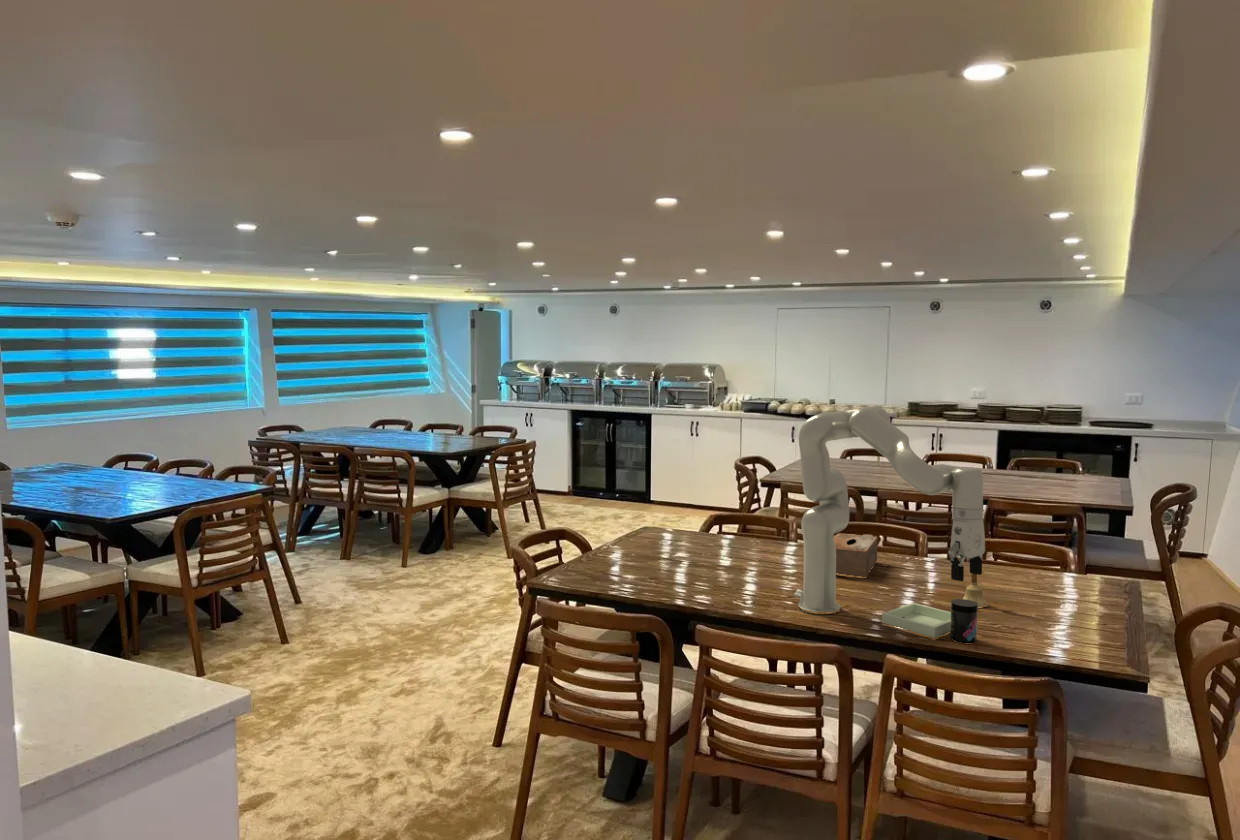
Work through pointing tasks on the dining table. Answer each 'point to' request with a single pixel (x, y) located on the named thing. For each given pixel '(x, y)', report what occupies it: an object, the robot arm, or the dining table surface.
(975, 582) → the hand bell
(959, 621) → the supplement container
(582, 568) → the dining table surface
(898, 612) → the tray
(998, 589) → the dining table surface
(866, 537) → the tissue box cover
